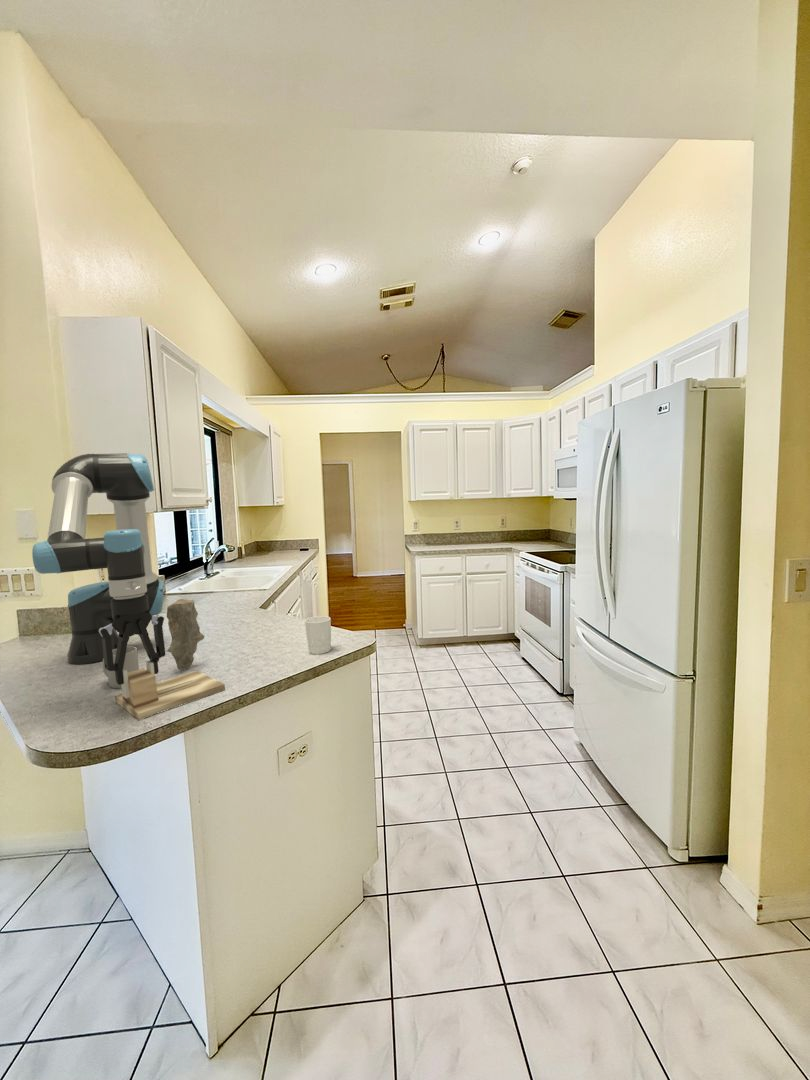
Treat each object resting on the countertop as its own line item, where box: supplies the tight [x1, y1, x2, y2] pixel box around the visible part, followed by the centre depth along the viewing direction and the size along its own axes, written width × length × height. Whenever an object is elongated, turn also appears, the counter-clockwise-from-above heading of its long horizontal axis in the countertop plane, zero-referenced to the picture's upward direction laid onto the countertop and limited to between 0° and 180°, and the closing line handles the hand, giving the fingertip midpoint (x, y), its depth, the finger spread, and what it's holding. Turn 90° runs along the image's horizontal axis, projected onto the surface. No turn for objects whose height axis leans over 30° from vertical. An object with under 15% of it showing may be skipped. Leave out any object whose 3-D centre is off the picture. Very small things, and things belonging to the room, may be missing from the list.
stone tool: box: [166, 598, 205, 671], centre depth 134 cm, size 12×6×20 cm, turn 150°
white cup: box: [304, 615, 332, 655], centre depth 145 cm, size 8×8×10 cm
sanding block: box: [122, 668, 158, 708], centre depth 111 cm, size 8×5×6 cm, turn 47°
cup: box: [101, 646, 140, 689], centre depth 126 cm, size 7×10×9 cm
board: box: [114, 670, 226, 721], centre depth 116 cm, size 16×20×2 cm
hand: (139, 691), depth 111 cm, fingers closed on sanding block, 5 cm apart
